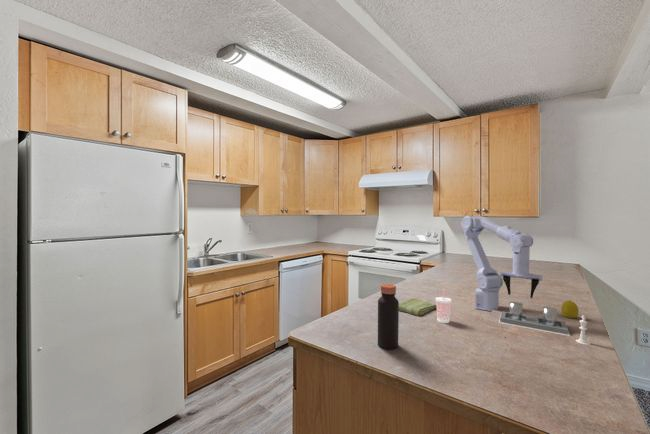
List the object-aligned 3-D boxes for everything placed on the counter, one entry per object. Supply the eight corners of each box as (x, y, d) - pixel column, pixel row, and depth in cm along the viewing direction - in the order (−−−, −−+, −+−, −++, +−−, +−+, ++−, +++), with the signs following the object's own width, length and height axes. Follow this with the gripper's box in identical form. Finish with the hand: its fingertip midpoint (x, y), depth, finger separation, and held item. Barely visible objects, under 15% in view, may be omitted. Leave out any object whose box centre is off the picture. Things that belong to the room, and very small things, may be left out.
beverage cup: (453, 320, 122) (454, 286, 122) (447, 324, 118) (448, 289, 118) (438, 317, 127) (439, 284, 126) (432, 320, 122) (433, 286, 122)
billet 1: (508, 320, 120) (508, 303, 120) (509, 317, 123) (510, 300, 123) (521, 323, 117) (522, 305, 117) (522, 320, 121) (523, 303, 120)
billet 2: (542, 327, 113) (543, 309, 113) (542, 323, 117) (542, 305, 117) (557, 330, 111) (557, 311, 111) (556, 326, 114) (556, 308, 114)
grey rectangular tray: (498, 325, 118) (498, 318, 118) (500, 315, 129) (500, 309, 128) (570, 338, 105) (570, 331, 105) (566, 327, 116) (566, 320, 116)
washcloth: (438, 308, 139) (438, 301, 139) (419, 318, 127) (419, 310, 126) (413, 302, 148) (413, 295, 148) (393, 310, 136) (393, 303, 136)
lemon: (581, 322, 121) (581, 302, 121) (565, 321, 122) (566, 301, 122) (573, 317, 127) (573, 298, 127) (558, 316, 128) (558, 298, 128)
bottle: (394, 351, 95) (394, 289, 95) (374, 346, 99) (374, 286, 98) (401, 343, 101) (401, 285, 100) (381, 339, 105) (382, 282, 104)
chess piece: (588, 342, 102) (588, 313, 102) (595, 349, 98) (596, 318, 97) (570, 340, 104) (571, 312, 104) (577, 346, 99) (577, 317, 99)
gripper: (499, 262, 124) (499, 295, 124) (542, 266, 116) (542, 301, 116) (501, 260, 130) (500, 291, 130) (542, 263, 122) (541, 297, 122)
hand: (520, 295), depth 124 cm, fingers open, 7 cm apart
